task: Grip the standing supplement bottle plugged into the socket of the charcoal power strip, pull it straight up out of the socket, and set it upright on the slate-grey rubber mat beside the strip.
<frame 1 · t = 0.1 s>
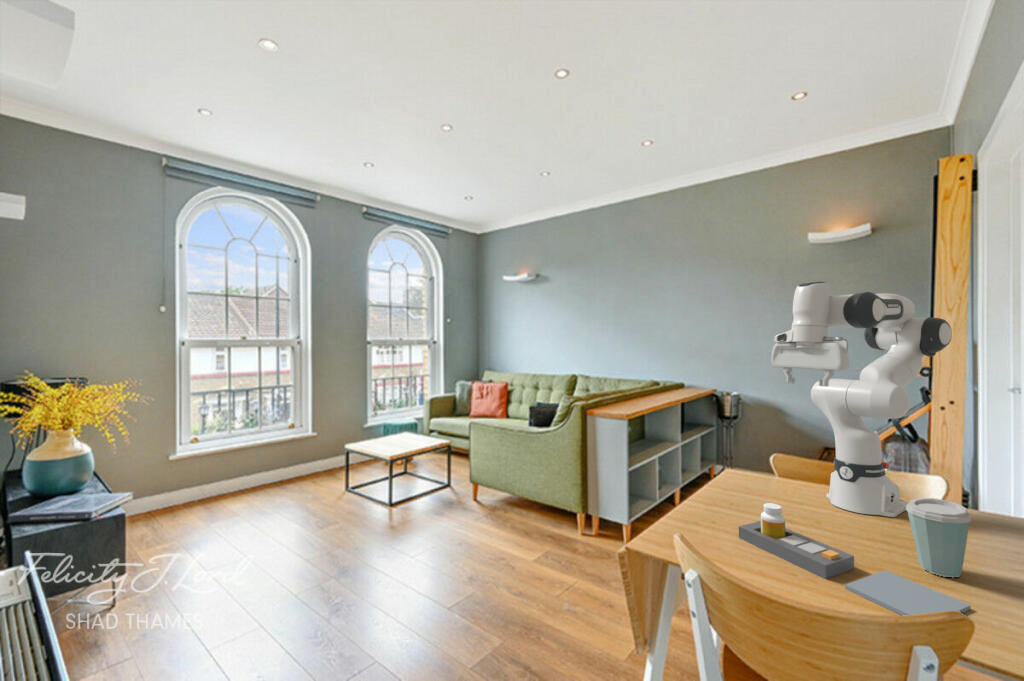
hand: (806, 384, 127), 39 cm above the table, tool pointing down, fingers open, 8 cm apart
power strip: (792, 552, 108), on the table
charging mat: (905, 598, 88), on the table
supplement bottle: (773, 544, 113), resting in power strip
disposable coffee cup: (938, 571, 98), on the table
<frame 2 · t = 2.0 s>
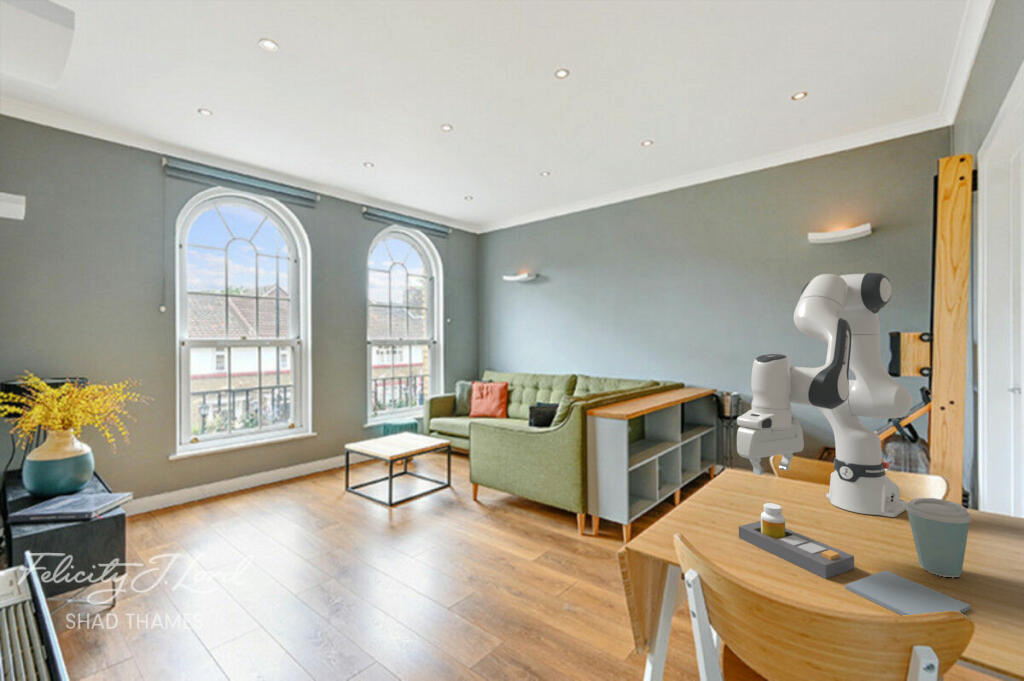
hand: (771, 472, 112), 18 cm above the table, tool pointing down, fingers open, 8 cm apart
nothing on the table moved.
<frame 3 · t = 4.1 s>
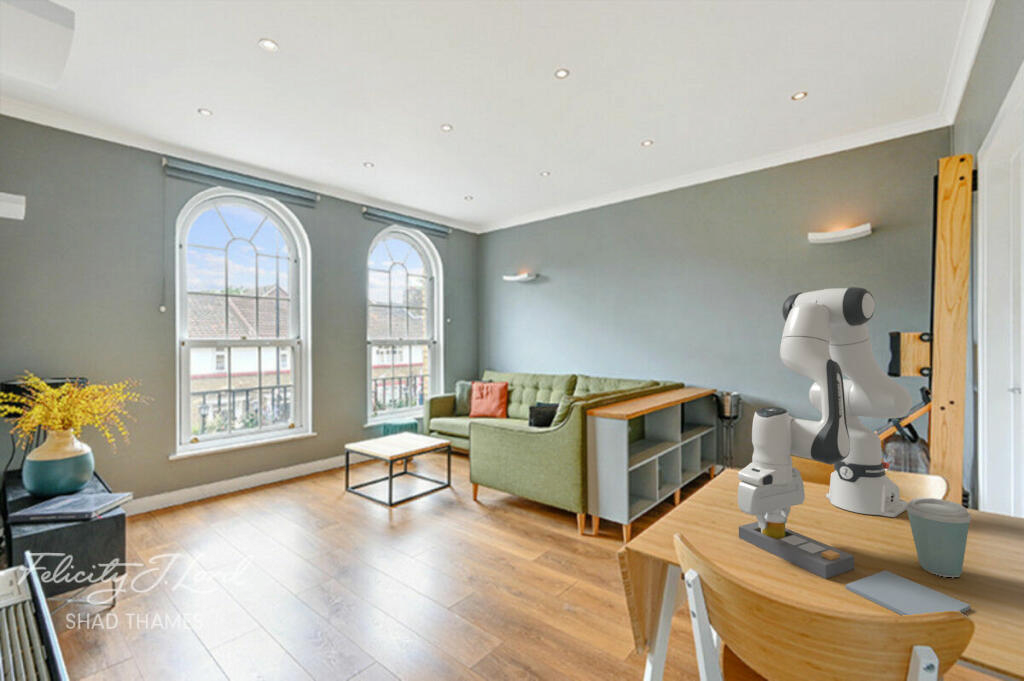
hand: (772, 525, 113), 5 cm above the table, tool pointing down, fingers closed on supplement bottle, 5 cm apart
supplement bottle: (773, 544, 113), resting in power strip, touching gripper
everything else where it was.
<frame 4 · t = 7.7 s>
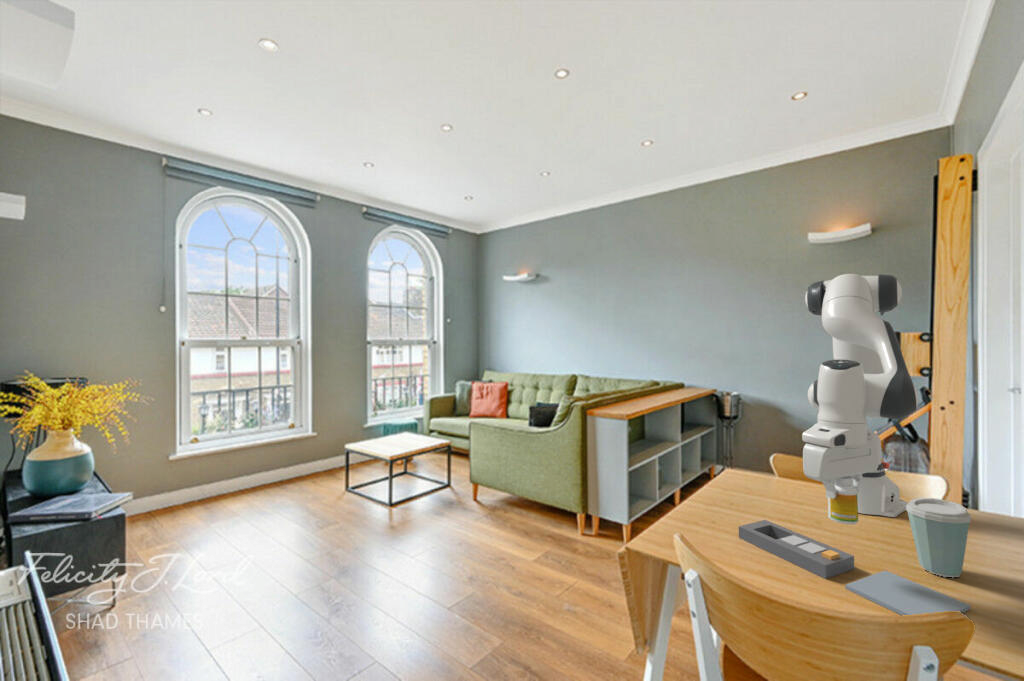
hand: (842, 495, 98), 17 cm above the table, tool pointing down, fingers closed on supplement bottle, 5 cm apart
supplement bottle: (843, 521, 98), point 12 cm above the table, touching gripper
everything else where it was.
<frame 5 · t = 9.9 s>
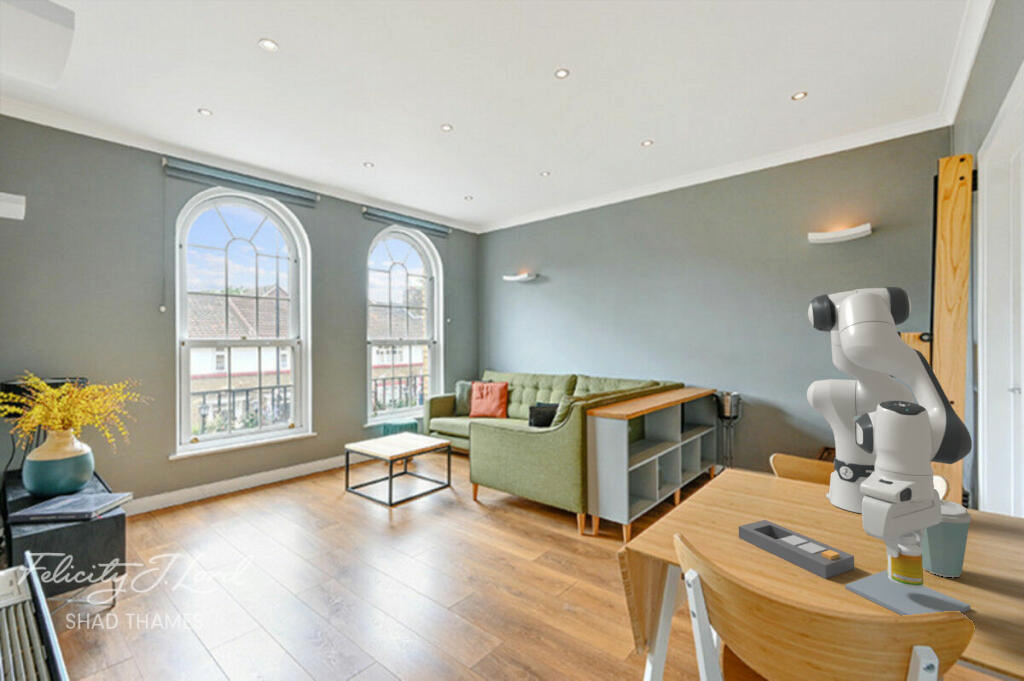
hand: (904, 552, 88), 9 cm above the table, tool pointing down, fingers closed on supplement bottle, 5 cm apart
supplement bottle: (905, 582, 88), point 3 cm above the table, touching gripper
everything else where it was.
when the fingers open (7 cm above the table, at t = 11.3 s): supplement bottle stays where it is, resting on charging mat.
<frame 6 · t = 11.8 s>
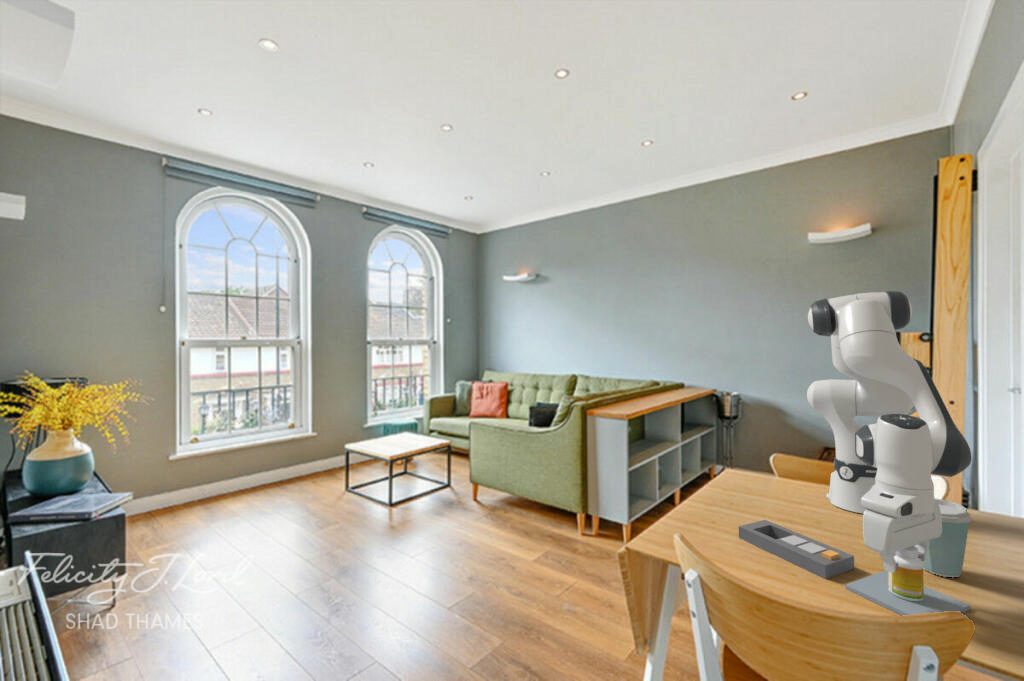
hand: (904, 565, 88), 7 cm above the table, tool pointing down, fingers open, 8 cm apart
supplement bottle: (905, 595, 88), point 1 cm above the table, touching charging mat
everything else where it was.
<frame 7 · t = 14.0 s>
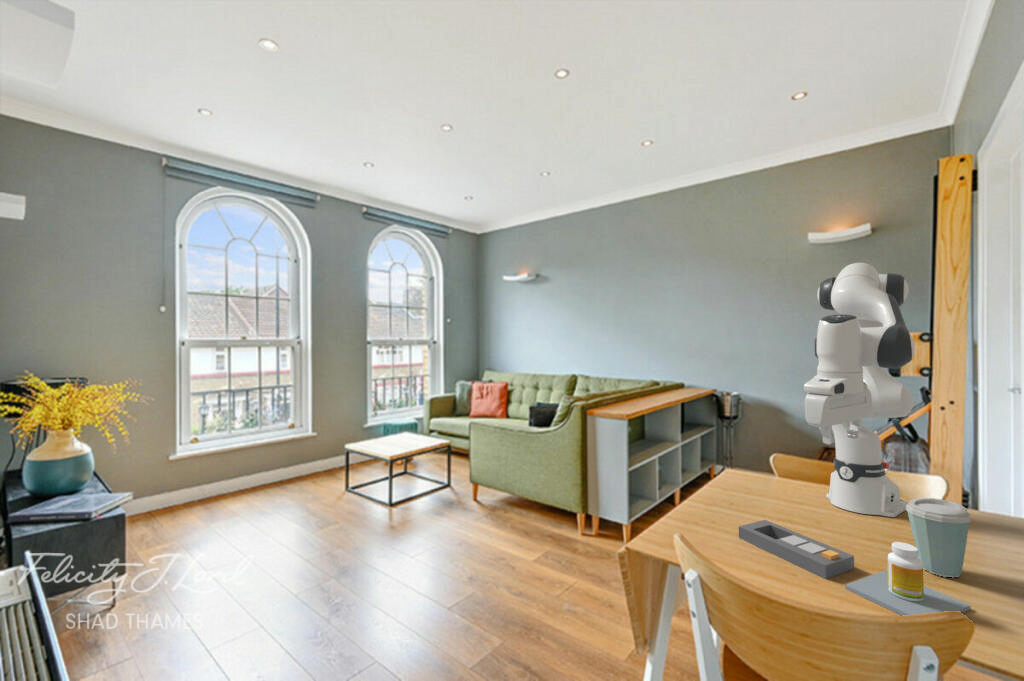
hand: (841, 440, 105), 28 cm above the table, tool pointing down, fingers open, 8 cm apart
nothing on the table moved.
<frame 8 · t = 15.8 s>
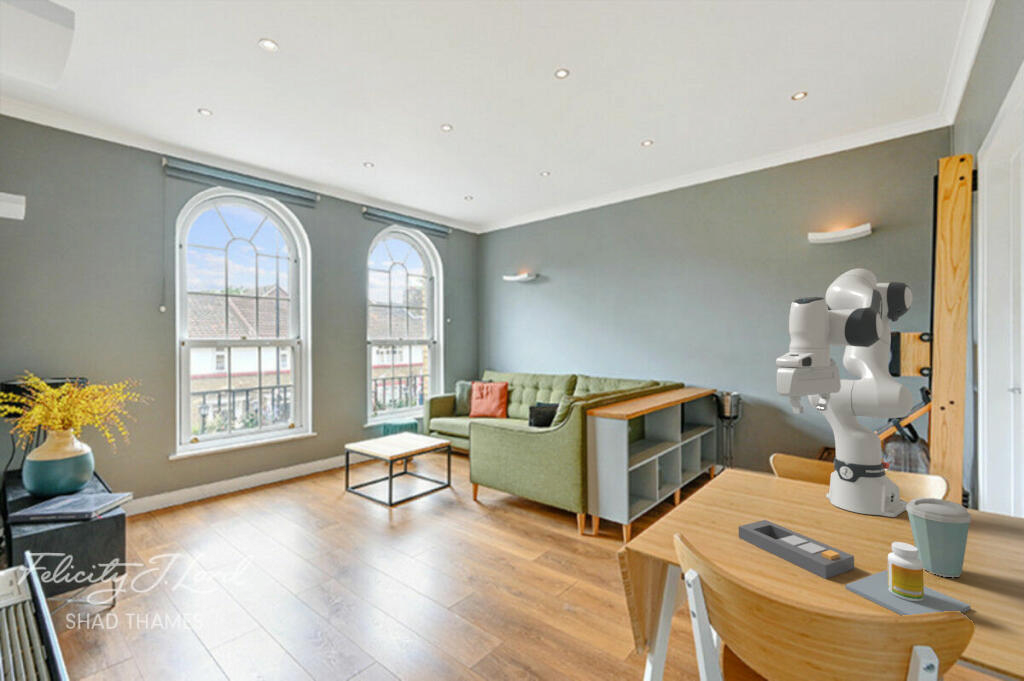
hand: (810, 411, 115), 33 cm above the table, tool pointing down, fingers open, 8 cm apart
nothing on the table moved.
at the end: supplement bottle inside the target area (0.0 cm from its centre), point 0.6 cm above the table; supplement bottle tilted 0°; the gripper is holding nothing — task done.
